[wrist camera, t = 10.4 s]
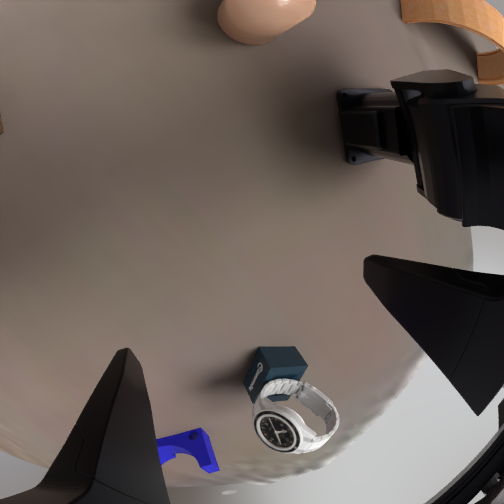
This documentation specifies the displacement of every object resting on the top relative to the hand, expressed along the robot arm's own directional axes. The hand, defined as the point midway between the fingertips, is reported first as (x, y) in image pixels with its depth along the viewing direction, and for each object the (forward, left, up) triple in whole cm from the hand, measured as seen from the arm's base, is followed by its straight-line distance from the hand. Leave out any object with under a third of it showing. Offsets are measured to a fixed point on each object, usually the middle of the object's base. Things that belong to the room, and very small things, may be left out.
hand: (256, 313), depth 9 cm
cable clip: (+15, +28, -12) cm, 34 cm away
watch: (-2, +18, -12) cm, 22 cm away
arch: (-35, -15, -12) cm, 40 cm away
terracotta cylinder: (-7, -14, -12) cm, 20 cm away
